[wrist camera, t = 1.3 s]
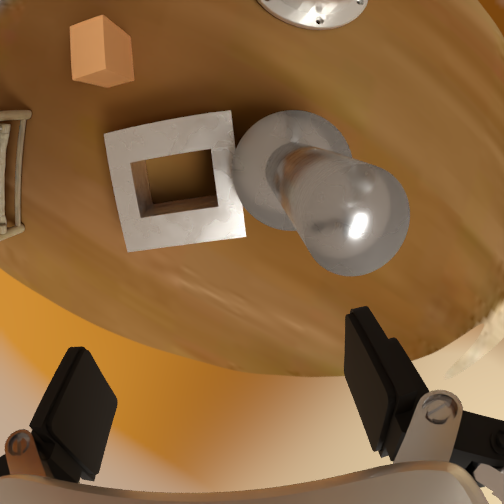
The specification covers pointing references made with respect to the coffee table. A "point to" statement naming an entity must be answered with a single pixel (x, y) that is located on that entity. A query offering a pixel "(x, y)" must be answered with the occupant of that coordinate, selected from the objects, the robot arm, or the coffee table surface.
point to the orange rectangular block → (101, 53)
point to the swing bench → (3, 232)
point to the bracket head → (263, 188)
